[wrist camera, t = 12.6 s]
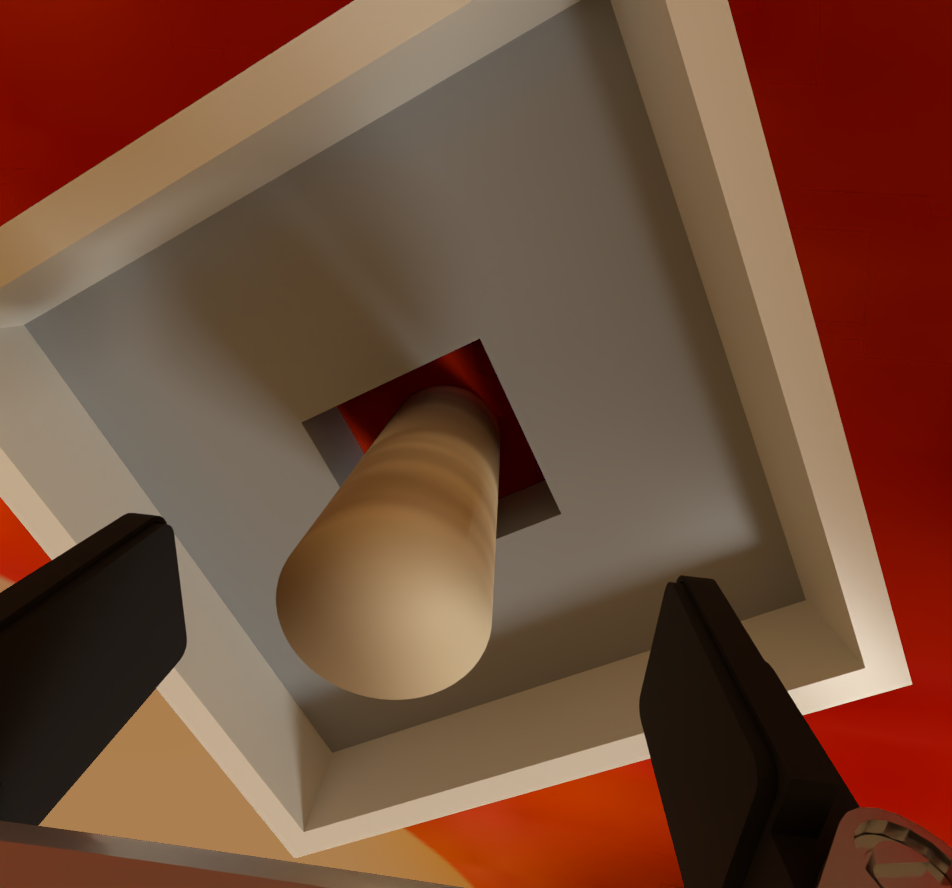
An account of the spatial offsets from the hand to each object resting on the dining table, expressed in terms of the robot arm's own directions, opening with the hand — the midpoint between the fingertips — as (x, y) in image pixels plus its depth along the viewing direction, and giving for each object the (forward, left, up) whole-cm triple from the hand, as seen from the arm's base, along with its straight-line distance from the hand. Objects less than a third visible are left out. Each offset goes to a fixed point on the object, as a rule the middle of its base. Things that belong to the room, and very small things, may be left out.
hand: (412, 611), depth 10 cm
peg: (0, 0, -10) cm, 10 cm away
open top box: (0, 0, -10) cm, 10 cm away
